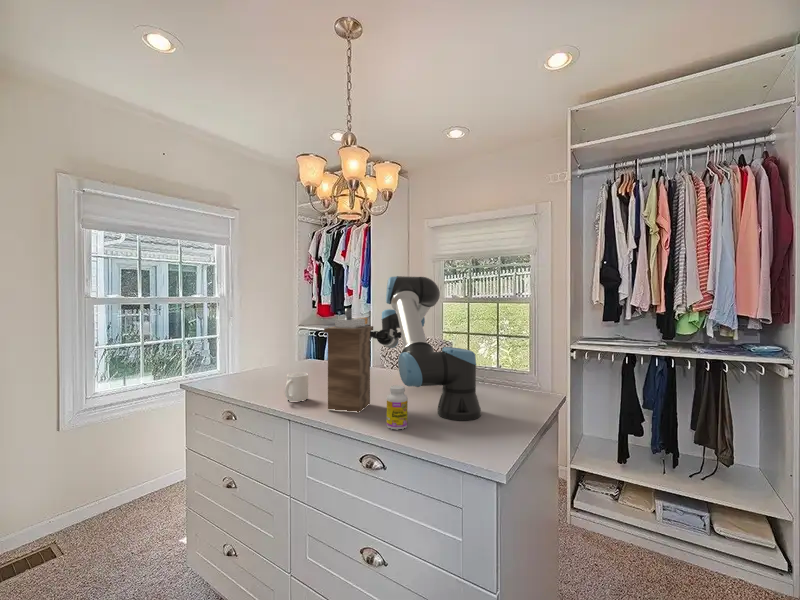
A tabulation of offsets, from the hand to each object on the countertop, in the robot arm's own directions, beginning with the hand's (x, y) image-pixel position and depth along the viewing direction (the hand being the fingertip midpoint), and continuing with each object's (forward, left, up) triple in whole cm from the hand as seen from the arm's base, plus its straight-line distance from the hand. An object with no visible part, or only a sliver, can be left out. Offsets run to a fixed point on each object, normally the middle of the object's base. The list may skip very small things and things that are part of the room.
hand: (375, 331), depth 169 cm
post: (-11, +23, -26) cm, 37 cm away
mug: (+11, +33, -27) cm, 44 cm away
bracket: (-8, +18, +4) cm, 20 cm away
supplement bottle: (-39, +26, -27) cm, 54 cm away
